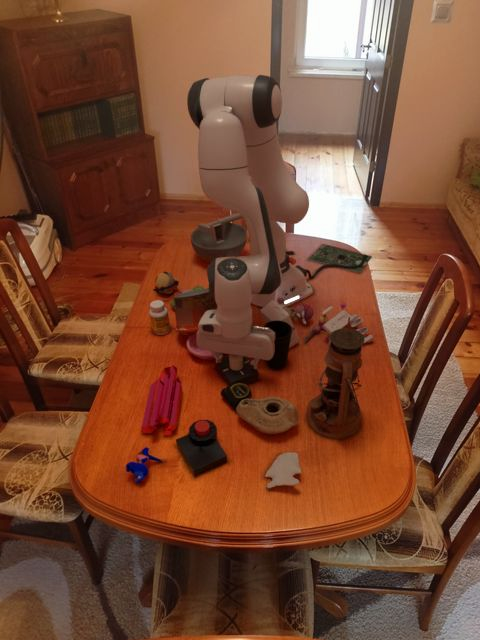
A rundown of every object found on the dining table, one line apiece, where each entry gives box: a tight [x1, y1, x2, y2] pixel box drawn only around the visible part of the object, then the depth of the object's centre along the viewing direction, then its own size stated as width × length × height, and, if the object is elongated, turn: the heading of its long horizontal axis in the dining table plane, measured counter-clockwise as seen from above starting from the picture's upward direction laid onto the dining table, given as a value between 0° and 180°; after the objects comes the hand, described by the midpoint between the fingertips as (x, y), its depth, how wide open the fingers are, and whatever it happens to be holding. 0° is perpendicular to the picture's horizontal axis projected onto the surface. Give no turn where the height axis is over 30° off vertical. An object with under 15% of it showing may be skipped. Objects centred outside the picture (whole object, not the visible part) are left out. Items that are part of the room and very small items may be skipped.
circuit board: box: [307, 243, 373, 274], centre depth 180 cm, size 14×20×1 cm
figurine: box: [125, 446, 163, 484], centre depth 106 cm, size 5×8×5 cm, turn 158°
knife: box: [286, 250, 295, 255], centre depth 186 cm, size 14×4×1 cm, turn 30°
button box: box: [175, 419, 228, 478], centre depth 110 cm, size 9×11×4 cm
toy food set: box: [169, 285, 205, 310], centre depth 155 cm, size 13×13×3 cm
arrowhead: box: [264, 451, 302, 489], centre depth 106 cm, size 8×2×10 cm
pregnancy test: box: [320, 305, 354, 335], centre depth 143 cm, size 8×12×1 cm, turn 141°
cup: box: [263, 320, 292, 371], centre depth 131 cm, size 8×8×12 cm
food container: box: [173, 287, 217, 335], centre depth 140 cm, size 16×16×11 cm
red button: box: [195, 419, 210, 437], centre depth 110 cm, size 3×3×2 cm
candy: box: [318, 301, 347, 347], centre depth 144 cm, size 18×8×6 cm, turn 173°
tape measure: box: [220, 382, 253, 412], centre depth 122 cm, size 7×7×4 cm
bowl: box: [190, 222, 248, 263], centre depth 177 cm, size 20×20×10 cm
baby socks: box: [350, 313, 374, 344], centre depth 144 cm, size 12×5×3 cm, turn 16°
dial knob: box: [228, 354, 243, 370], centre depth 128 cm, size 4×4×4 cm
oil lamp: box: [235, 396, 299, 435], centre depth 115 cm, size 11×15×8 cm
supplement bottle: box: [148, 299, 171, 336], centre depth 143 cm, size 5×5×10 cm
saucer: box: [186, 333, 226, 361], centre depth 138 cm, size 12×12×3 cm
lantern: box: [306, 317, 365, 440], centre depth 109 cm, size 17×13×30 cm
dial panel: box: [214, 355, 260, 387], centre depth 130 cm, size 8×10×3 cm
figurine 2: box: [278, 298, 321, 343], centre depth 144 cm, size 11×13×15 cm
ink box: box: [259, 301, 301, 349], centre depth 138 cm, size 9×5×12 cm, turn 33°
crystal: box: [140, 364, 183, 437], centre depth 121 cm, size 8×6×25 cm
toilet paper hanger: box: [197, 212, 243, 244], centre depth 174 cm, size 22×13×6 cm, turn 127°
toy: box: [152, 270, 180, 295], centre depth 159 cm, size 8×9×15 cm
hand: (236, 364), depth 129 cm, fingers open, 8 cm apart
